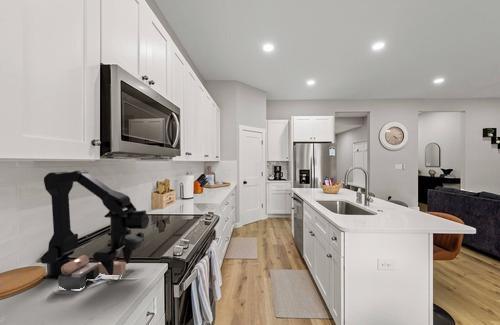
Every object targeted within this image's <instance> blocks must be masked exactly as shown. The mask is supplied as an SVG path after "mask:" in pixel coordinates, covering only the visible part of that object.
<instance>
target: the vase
mask: <svg viewBox="0 0 500 325" xmlns="http://www.w3.org/2000/svg"><path fill="white" fill-rule="evenodd" d="M110 242H111V238H108V239H107V241H106V242H105V243H104V245H103V246H102V248H109V249H110V248H111V247H110V246H108V243H110ZM120 252H121V249H119V250H118V251H117V254H116V256H115V257H117V258H118V257H119V255H120V254H121V253H120Z"/></svg>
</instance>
